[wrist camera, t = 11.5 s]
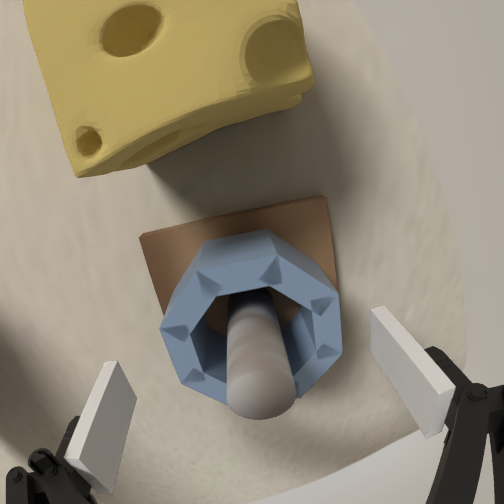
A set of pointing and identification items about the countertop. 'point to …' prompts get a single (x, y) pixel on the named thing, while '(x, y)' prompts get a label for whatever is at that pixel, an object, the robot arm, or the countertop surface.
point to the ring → (242, 279)
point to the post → (248, 297)
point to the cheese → (162, 72)
